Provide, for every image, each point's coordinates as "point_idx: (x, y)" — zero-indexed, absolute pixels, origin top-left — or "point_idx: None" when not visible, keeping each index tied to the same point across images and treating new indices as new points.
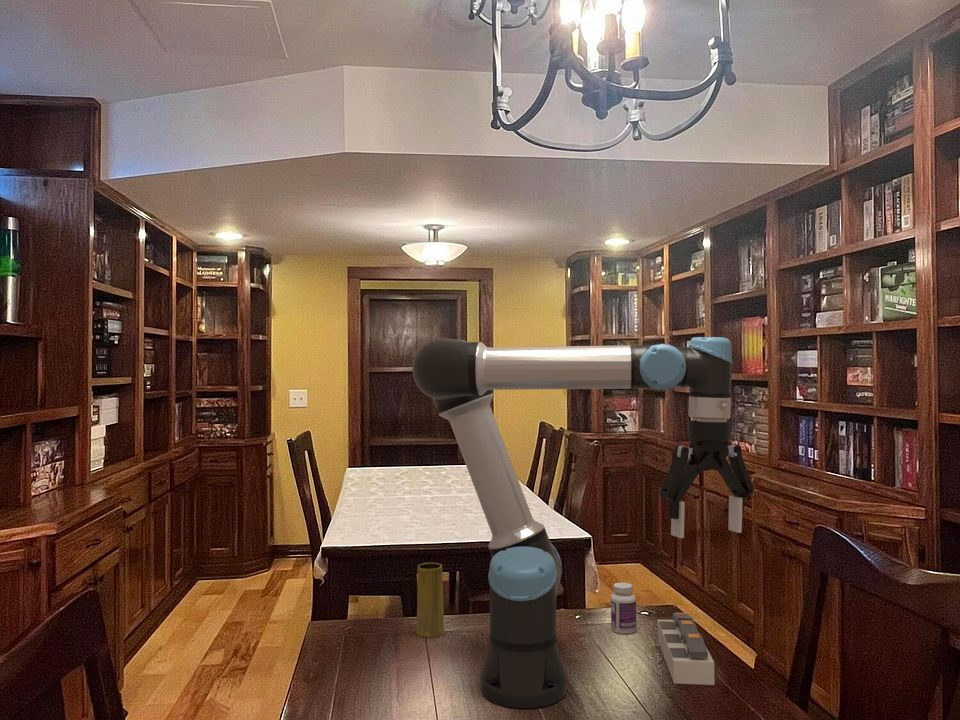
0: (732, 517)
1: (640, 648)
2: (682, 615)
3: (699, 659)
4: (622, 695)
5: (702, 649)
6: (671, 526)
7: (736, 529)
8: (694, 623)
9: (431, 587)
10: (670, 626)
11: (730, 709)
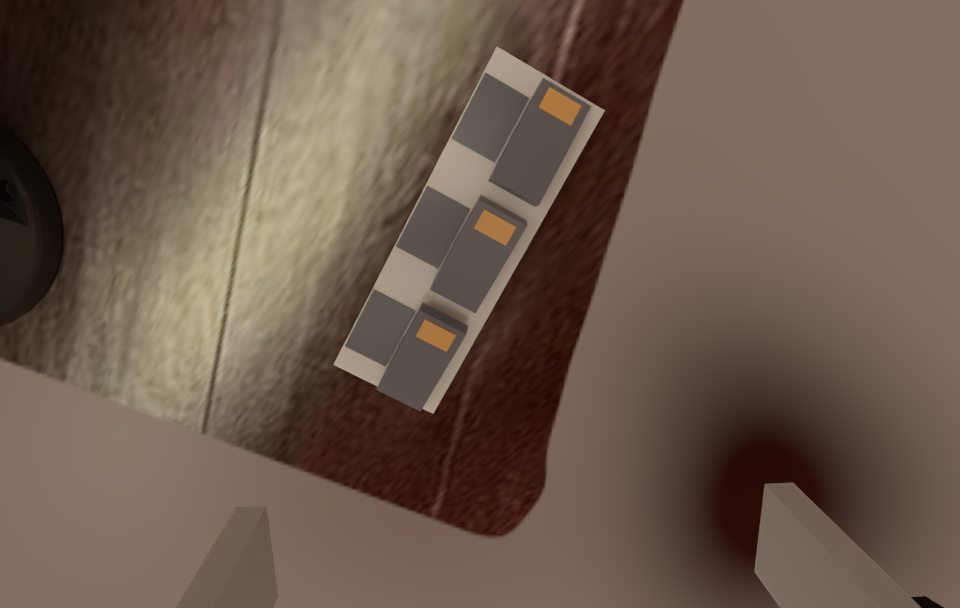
0: (820, 585)
1: (396, 104)
2: (544, 138)
3: None
4: (187, 348)
5: (414, 396)
6: (213, 550)
7: (765, 567)
8: (516, 241)
9: None
10: (489, 137)
11: (388, 493)
